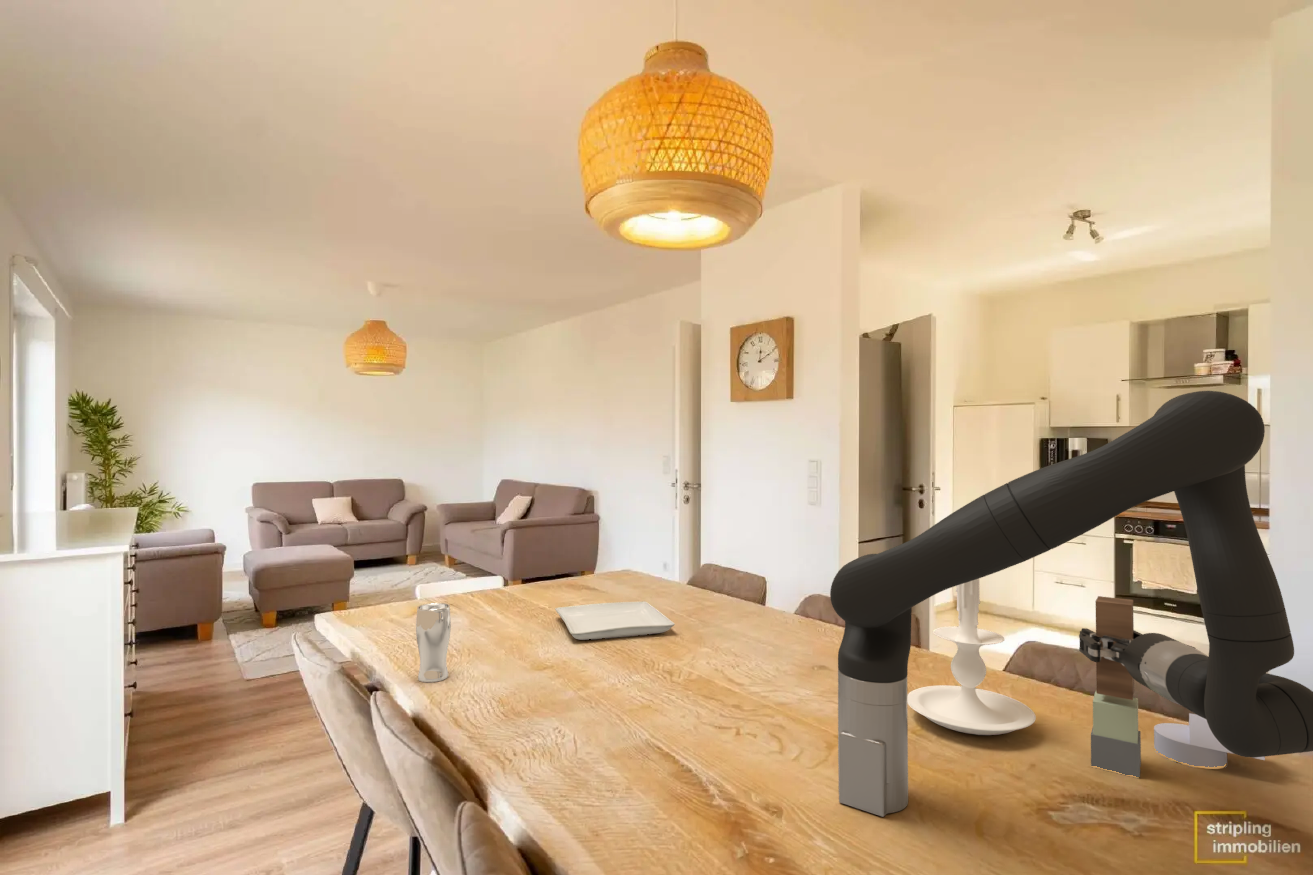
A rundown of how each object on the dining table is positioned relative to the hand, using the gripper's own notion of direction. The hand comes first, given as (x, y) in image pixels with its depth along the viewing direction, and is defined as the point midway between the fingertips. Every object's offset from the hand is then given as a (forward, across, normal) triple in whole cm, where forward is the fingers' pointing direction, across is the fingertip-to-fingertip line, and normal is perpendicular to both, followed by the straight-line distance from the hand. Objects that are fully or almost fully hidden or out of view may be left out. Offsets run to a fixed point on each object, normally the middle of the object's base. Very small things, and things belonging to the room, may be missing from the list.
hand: (1106, 635), depth 106 cm
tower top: (-2, 0, +14) cm, 14 cm away
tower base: (-2, 0, +19) cm, 19 cm away
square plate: (+66, +92, +20) cm, 115 cm away
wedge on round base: (+2, -15, +19) cm, 25 cm away
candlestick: (+13, +17, +19) cm, 29 cm away
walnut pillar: (-2, 0, +8) cm, 8 cm away
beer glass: (+21, +122, +19) cm, 125 cm away
